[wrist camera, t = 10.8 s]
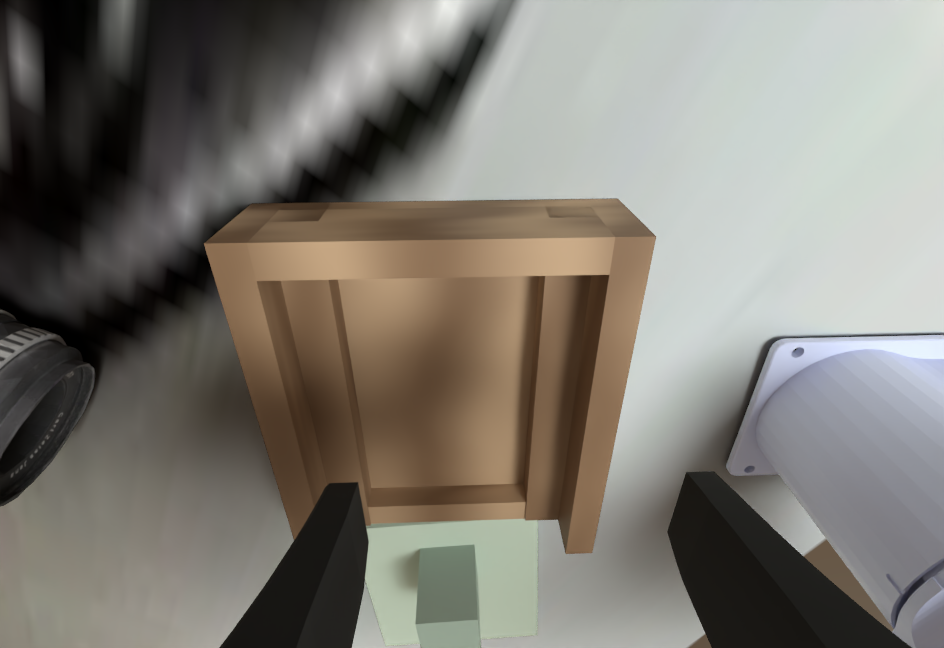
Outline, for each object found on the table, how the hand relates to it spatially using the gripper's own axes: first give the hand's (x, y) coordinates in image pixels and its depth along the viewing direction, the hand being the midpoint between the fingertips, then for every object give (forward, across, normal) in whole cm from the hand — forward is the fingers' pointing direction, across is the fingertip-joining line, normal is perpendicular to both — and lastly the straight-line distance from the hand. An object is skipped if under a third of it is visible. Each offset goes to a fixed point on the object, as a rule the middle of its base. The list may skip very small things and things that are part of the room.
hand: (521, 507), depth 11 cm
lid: (+10, +2, +19) cm, 22 cm away
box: (+10, +2, +4) cm, 11 cm away
